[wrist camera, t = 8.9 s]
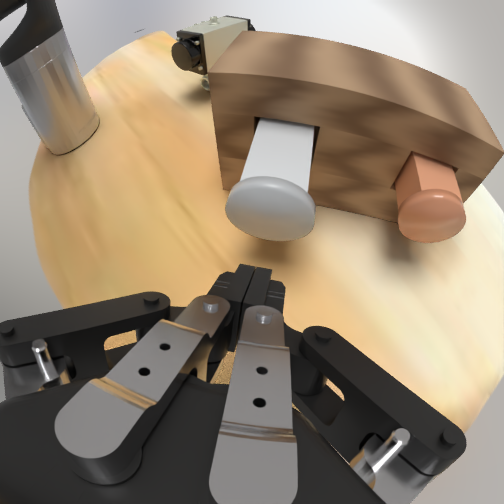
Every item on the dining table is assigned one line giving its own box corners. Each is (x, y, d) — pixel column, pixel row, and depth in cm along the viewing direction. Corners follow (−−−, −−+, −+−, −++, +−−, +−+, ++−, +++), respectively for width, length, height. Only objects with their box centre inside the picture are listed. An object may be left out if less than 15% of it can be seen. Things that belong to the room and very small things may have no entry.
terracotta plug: (387, 234, 20) (419, 191, 15) (377, 143, 25) (395, 101, 20) (441, 247, 19) (479, 212, 14) (423, 157, 24) (444, 120, 19)
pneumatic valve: (257, 77, 37) (257, 11, 26) (200, 108, 33) (188, 30, 23) (232, 68, 39) (229, 7, 28) (176, 97, 35) (162, 27, 24)
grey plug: (229, 233, 20) (221, 182, 15) (258, 134, 25) (258, 85, 20) (306, 247, 19) (322, 200, 14) (316, 144, 24) (327, 96, 19)
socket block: (223, 189, 27) (207, 72, 15) (245, 127, 31) (242, 30, 20) (435, 232, 25) (504, 152, 13) (422, 166, 29) (465, 88, 17)
